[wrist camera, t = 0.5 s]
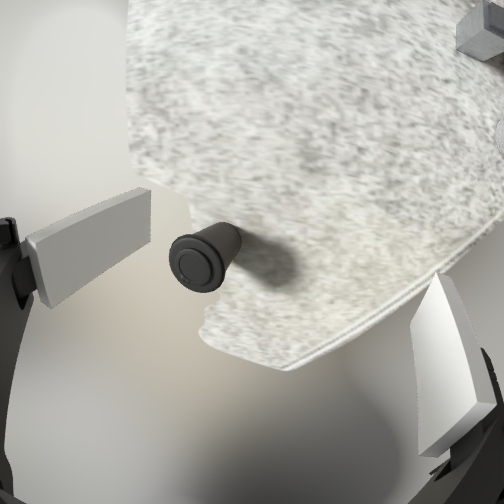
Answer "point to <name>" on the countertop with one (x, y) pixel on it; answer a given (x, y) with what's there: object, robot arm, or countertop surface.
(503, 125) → the beverage can
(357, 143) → the countertop surface
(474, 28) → the grey square peg
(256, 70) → the countertop surface
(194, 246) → the coffee cup
